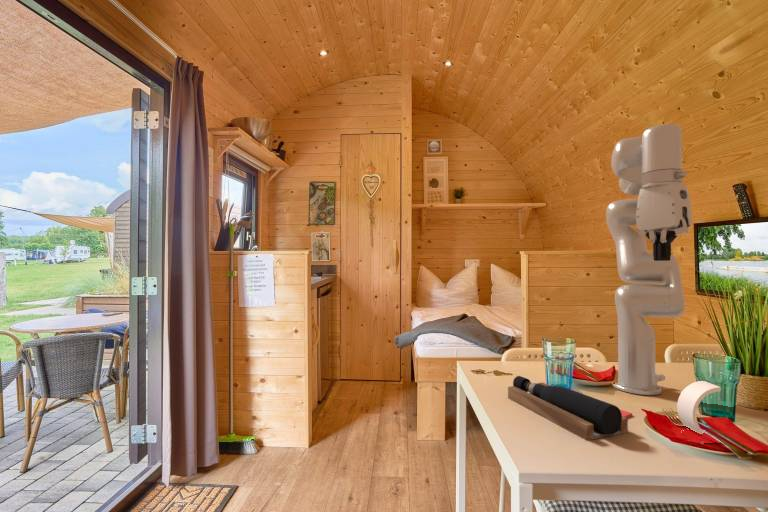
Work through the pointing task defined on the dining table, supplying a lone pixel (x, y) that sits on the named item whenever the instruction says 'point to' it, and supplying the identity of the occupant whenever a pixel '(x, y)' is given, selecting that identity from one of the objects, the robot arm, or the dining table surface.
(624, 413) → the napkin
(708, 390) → the white crescent arch
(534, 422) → the dining table surface
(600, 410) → the wine bottle
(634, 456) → the dining table surface
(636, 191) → the robot arm
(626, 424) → the cradle
